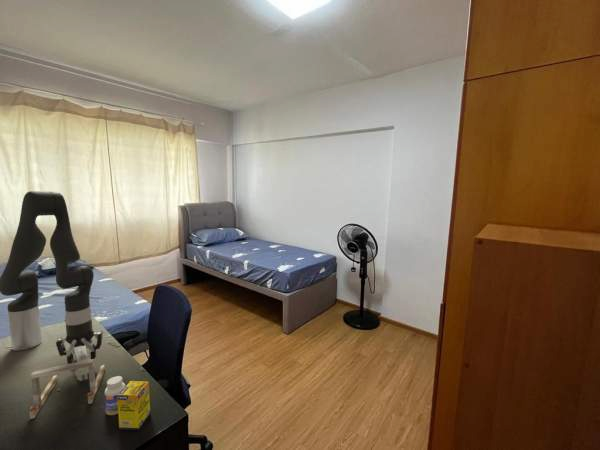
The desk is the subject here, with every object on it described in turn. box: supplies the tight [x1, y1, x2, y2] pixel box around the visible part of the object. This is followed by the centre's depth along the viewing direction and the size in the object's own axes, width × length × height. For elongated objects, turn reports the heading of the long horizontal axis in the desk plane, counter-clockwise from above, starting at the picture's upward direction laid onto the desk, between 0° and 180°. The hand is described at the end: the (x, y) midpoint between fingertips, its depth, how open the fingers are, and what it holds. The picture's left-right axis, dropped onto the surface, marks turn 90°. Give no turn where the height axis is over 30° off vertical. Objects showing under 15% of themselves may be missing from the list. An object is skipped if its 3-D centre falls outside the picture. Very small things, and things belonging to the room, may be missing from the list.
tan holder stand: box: [29, 358, 106, 420], centre depth 91 cm, size 18×16×12 cm
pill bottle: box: [104, 375, 126, 416], centre depth 84 cm, size 5×5×10 cm
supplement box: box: [117, 380, 151, 431], centre depth 79 cm, size 6×6×11 cm
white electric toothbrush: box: [72, 345, 91, 382], centre depth 102 cm, size 5×7×25 cm
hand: (82, 361), depth 102 cm, fingers closed on white electric toothbrush, 5 cm apart
